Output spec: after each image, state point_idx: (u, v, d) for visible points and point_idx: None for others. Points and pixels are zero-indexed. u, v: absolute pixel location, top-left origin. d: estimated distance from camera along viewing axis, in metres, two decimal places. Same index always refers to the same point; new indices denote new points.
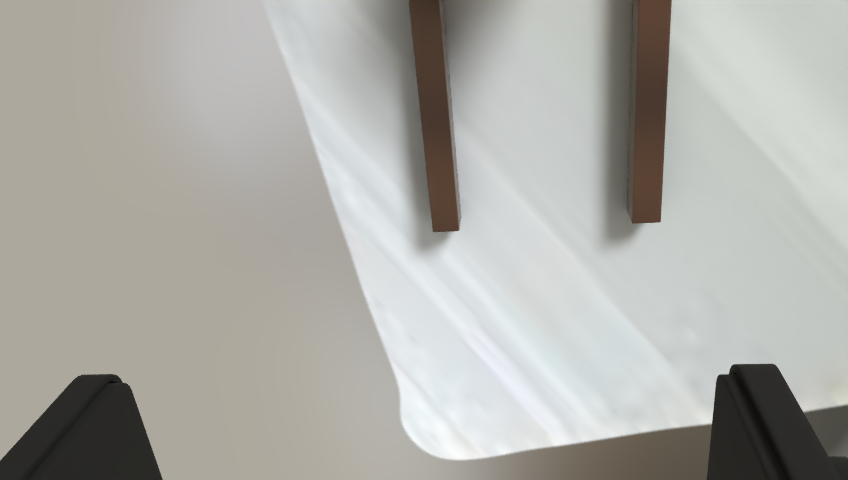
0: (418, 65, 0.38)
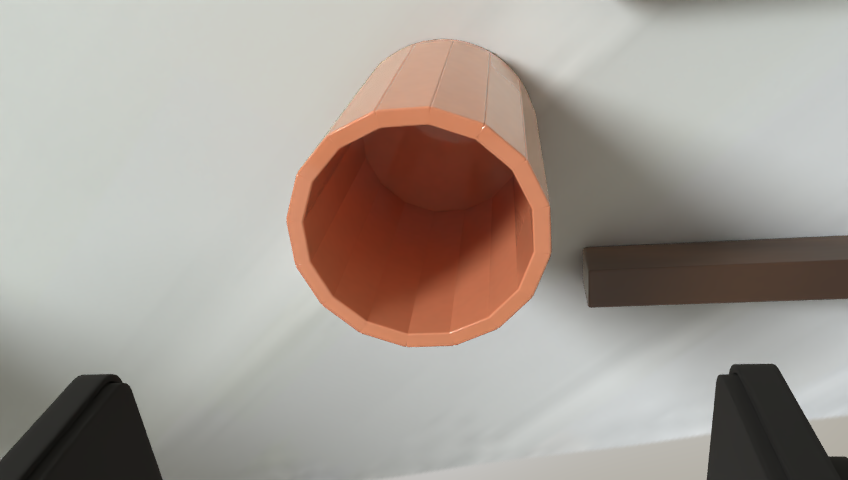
0: (758, 298, 0.25)
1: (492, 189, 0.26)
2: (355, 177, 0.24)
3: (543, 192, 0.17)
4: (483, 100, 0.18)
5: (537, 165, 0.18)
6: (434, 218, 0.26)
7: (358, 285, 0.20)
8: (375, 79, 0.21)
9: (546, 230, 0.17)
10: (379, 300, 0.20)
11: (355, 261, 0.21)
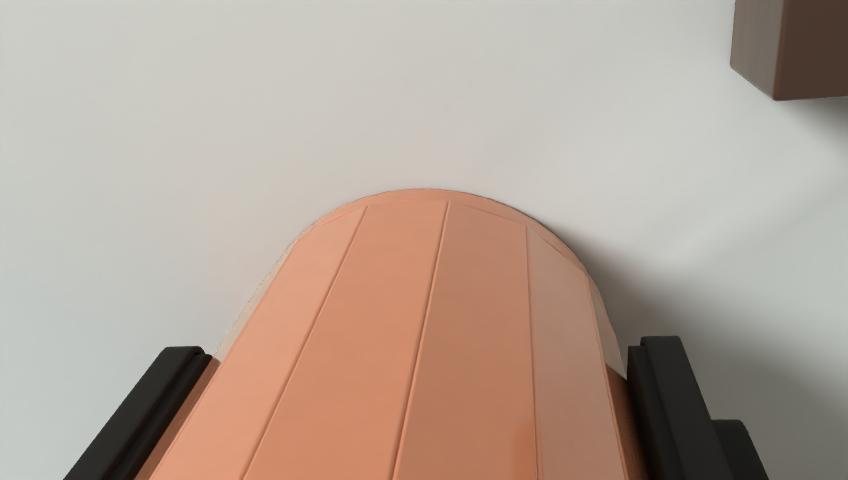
0: None
1: None
2: None
3: None
4: None
5: None
6: None
7: None
8: (255, 341, 0.09)
9: None
10: None
11: None
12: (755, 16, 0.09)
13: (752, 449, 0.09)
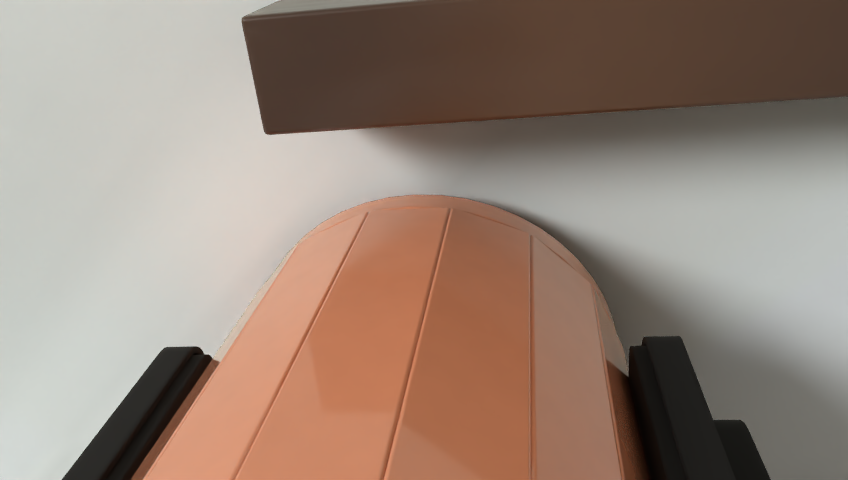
0: None
1: None
2: None
3: None
4: None
5: None
6: None
7: None
8: (247, 353, 0.08)
9: None
10: None
11: None
12: None
13: (754, 450, 0.09)
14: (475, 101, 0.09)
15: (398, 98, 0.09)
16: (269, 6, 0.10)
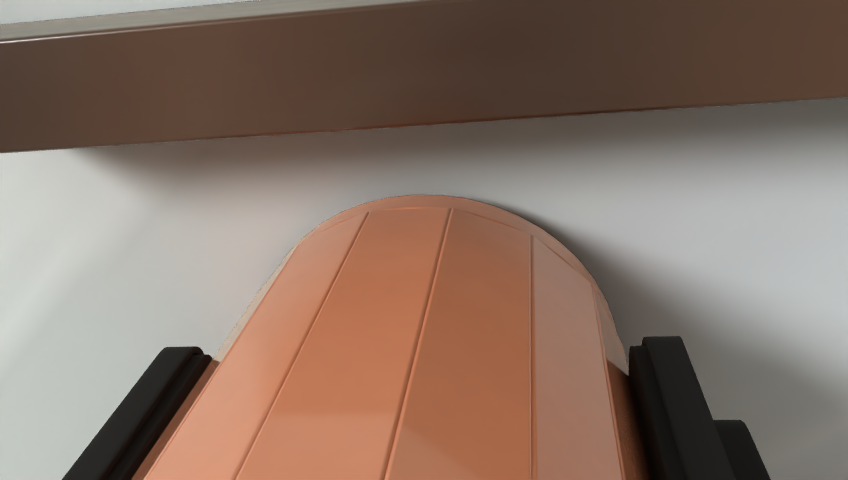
0: None
1: None
2: None
3: None
4: None
5: None
6: None
7: None
8: (247, 354, 0.08)
9: None
10: None
11: None
12: None
13: (754, 449, 0.09)
14: (106, 127, 0.10)
15: (38, 124, 0.10)
16: None
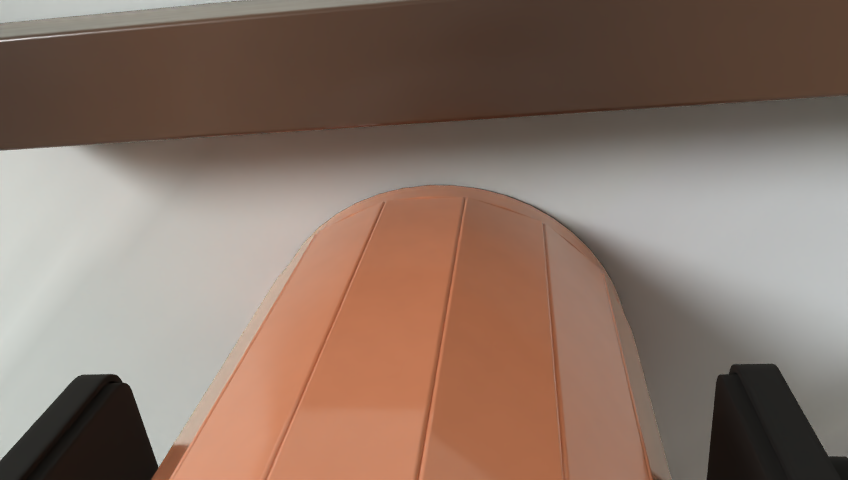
0: None
1: None
2: None
3: None
4: None
5: None
6: None
7: None
8: (275, 336, 0.09)
9: None
10: None
11: None
12: None
13: None
14: (113, 124, 0.10)
15: (45, 121, 0.10)
16: None
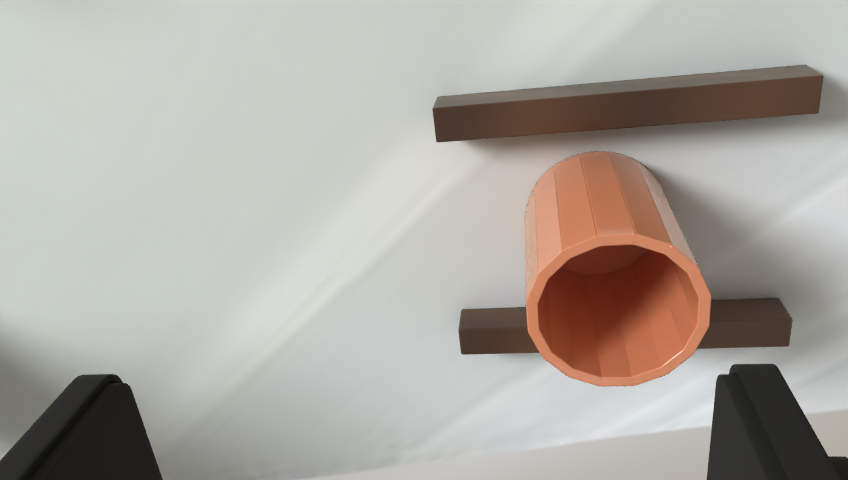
0: None
1: (631, 259, 0.34)
2: None
3: (707, 287, 0.25)
4: (659, 220, 0.27)
5: None
6: (587, 281, 0.34)
7: (561, 342, 0.29)
8: (566, 193, 0.30)
9: (707, 311, 0.26)
10: (575, 352, 0.29)
11: (553, 323, 0.29)
12: None
13: None
14: (501, 131, 0.31)
15: (478, 131, 0.31)
16: (437, 102, 0.32)
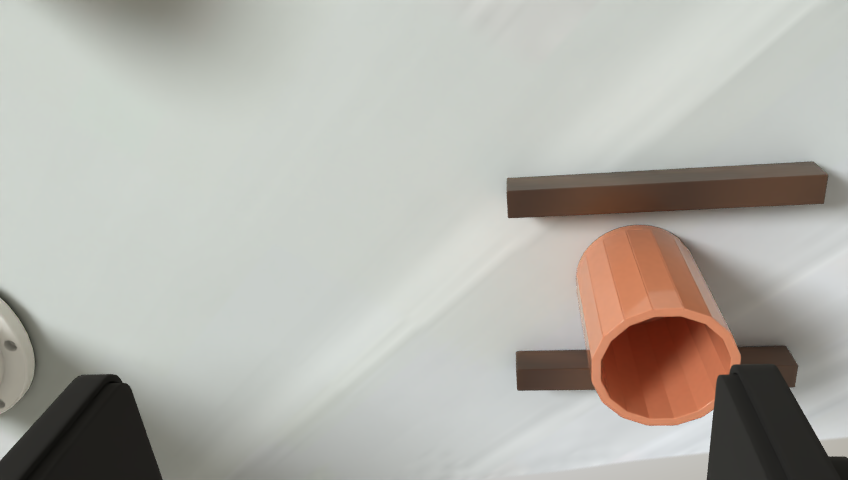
0: None
1: None
2: None
3: None
4: (699, 293, 0.33)
5: None
6: (627, 331, 0.41)
7: (615, 388, 0.35)
8: (618, 264, 0.36)
9: None
10: (626, 396, 0.35)
11: (607, 371, 0.36)
12: None
13: None
14: (563, 211, 0.37)
15: (544, 210, 0.37)
16: (508, 184, 0.38)
